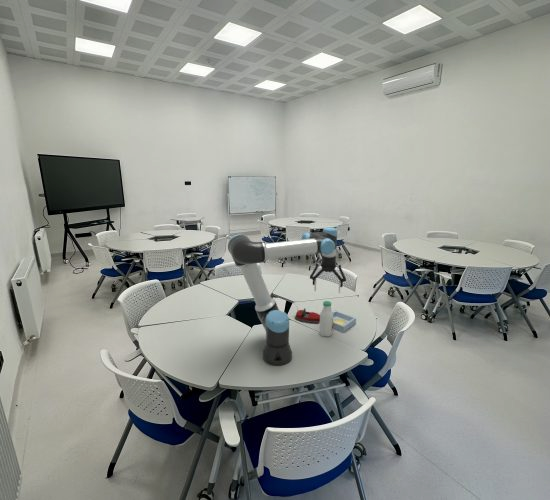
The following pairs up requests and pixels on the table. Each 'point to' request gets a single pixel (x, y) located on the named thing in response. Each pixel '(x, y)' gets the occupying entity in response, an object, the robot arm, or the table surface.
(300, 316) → the bumper car
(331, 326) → the milk bottle
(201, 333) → the table surface
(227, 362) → the table surface
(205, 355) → the table surface
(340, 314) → the blue square tray
